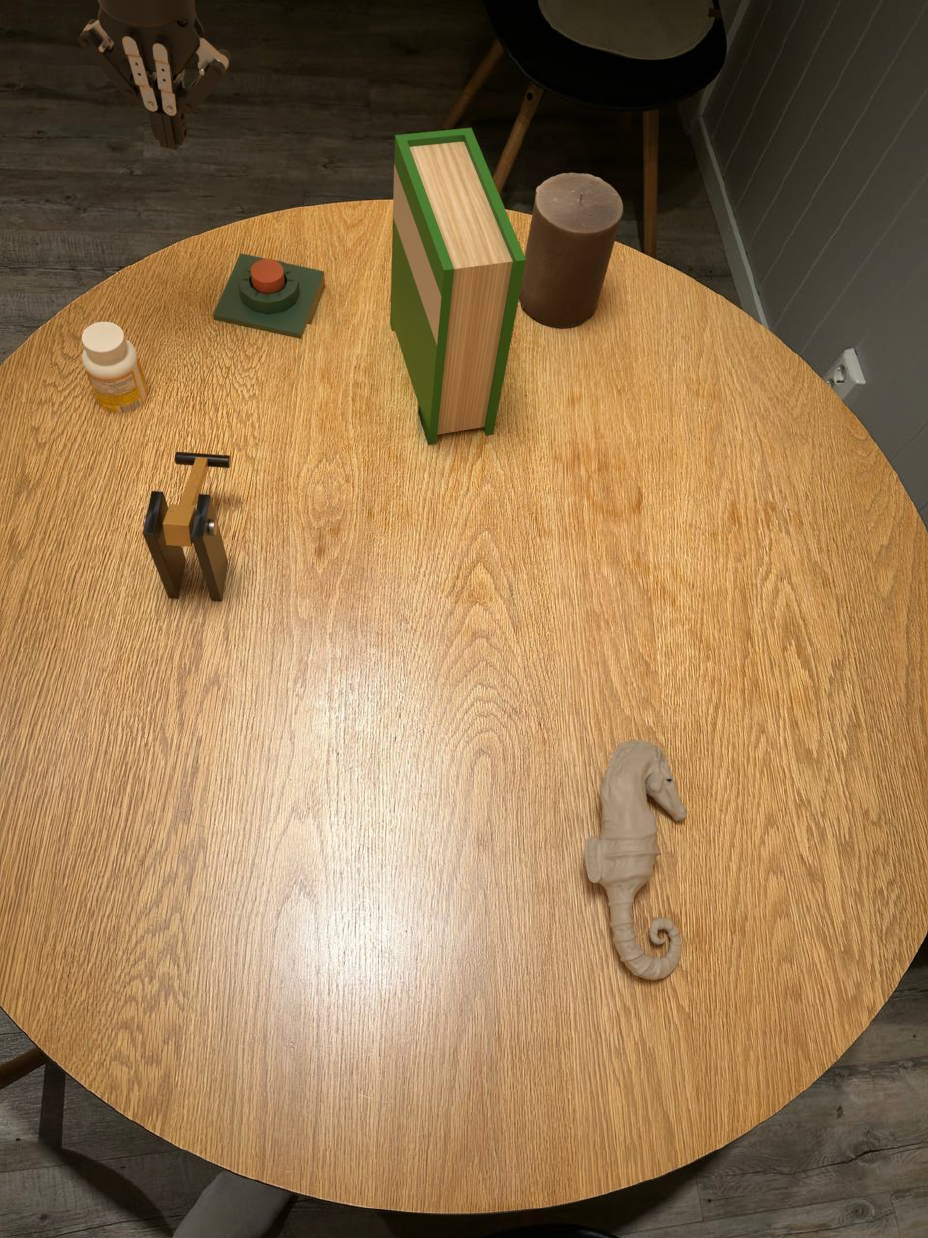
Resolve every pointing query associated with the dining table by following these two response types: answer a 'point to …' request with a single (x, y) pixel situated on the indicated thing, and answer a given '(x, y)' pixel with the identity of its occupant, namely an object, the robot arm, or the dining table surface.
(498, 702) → the dining table surface
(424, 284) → the hardback book
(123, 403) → the supplement bottle
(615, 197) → the pillar candle
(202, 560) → the bracket
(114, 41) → the robot arm
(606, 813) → the seahorse
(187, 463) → the latch
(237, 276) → the button box
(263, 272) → the button
